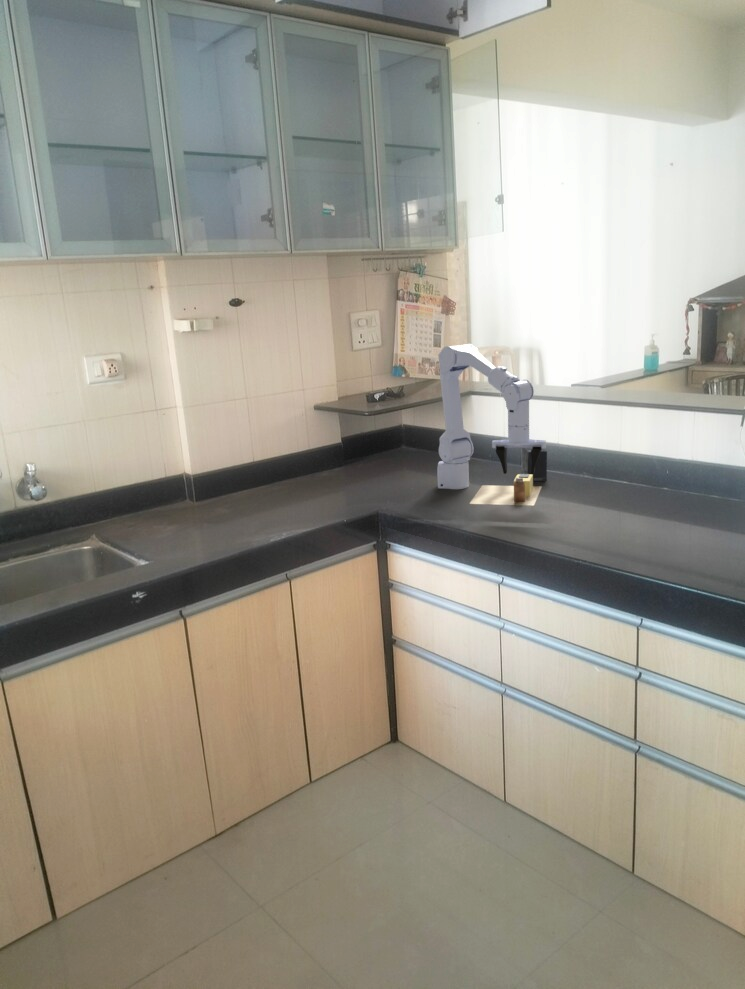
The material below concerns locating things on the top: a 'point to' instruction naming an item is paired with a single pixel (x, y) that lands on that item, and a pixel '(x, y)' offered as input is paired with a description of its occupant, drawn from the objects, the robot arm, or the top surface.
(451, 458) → the robot arm
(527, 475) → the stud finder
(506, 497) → the plywood panel
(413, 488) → the top surface
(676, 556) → the top surface
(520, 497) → the brown jar
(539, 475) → the small box
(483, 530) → the top surface
